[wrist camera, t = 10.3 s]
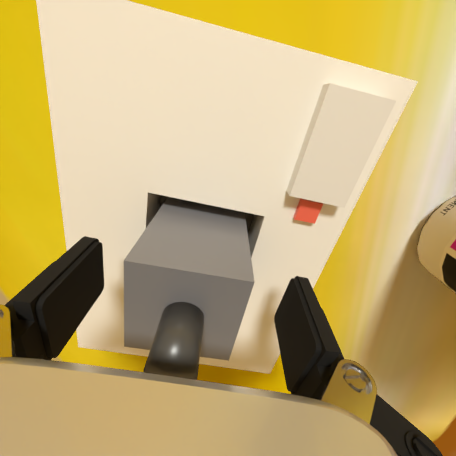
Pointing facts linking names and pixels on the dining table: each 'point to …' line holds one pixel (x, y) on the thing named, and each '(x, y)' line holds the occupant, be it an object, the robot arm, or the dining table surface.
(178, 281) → the plug
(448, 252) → the supplement can
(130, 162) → the socket
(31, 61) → the dining table surface
